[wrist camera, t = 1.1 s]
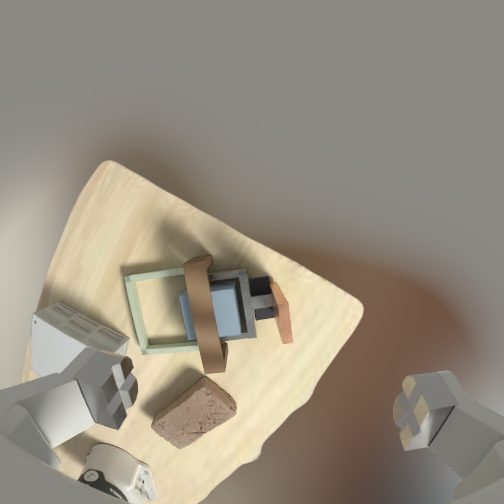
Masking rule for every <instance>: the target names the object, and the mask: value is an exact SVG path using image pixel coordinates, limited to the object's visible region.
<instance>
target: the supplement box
mask: <svg viewBox="0 0 504 504" xmlns="http://www.w3.org/2000/svg"><path fill="white" fill-rule="evenodd" d="M129 341H130V338H129V337H127V336H125V335H123V334H121V333H119V332H116V331H114V330H112V329H110V328H108V327H106V326H104V325H102V324H100V323H98V322H96V321H94V320H92V319H90V318H88V317H87V316H85V315H83V314H81V313H79V312H77V311H75V310H74V309H72V308H70V307H68V306H66V305H65V304H63V303H61V302H57V303H55V304H53V305H50V306H48V307H46V308H44V309H42V310H39V311H37V312H35V313H33V317H32V330H31V371H33V372H34V373H36V374H37V375H38V376H40V377H44V376H47V375H50V374H53V373H56V372H57V373H59V374H60V373H61V372H62V371H63V370H64V369H65V368H66V367H67V366H68V365H69V364H70V363H71V362H72V361H73V360H74V359H75V357H76V356H77V355H78V354H79V353H80V352H81V351H82V350H83V349H84V348H85V347H93V348H97V349H100V350H105V351H108V352H112V353H116V354H119V355H123V356H126V353H127V349H128V345H129Z"/></svg>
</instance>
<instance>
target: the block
mask: <svg viewBox="0 0 504 504" xmlns="http://www.w3.org/2000/svg"><path fill="white" fill-rule="evenodd" d="M210 291H211V296H212V302H213V308H214V313H215V319H216V324H217V329H218V334H219V337H224V336H232V335H240V334H241V317H240V311H239V304H238V298H237V292H236V285H235V281H233V282H226V283H219V284H211V285H210ZM179 299H180V304H181V309H182V314H183V318H184V323H185V328H186V333H187V337H188V340H196V339H197V337H196V332H195V328H194V323H193V318H192V313H191V308H190V303H189V298H188V292H187V288H186V289H185V290H184V291H183V292H182V293H181V294H180V295H179Z"/></svg>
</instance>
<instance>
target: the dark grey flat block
mask: <svg viewBox="0 0 504 504" xmlns="http://www.w3.org/2000/svg"><path fill="white" fill-rule="evenodd" d="M250 282H251V288H252V295H255V294H262V293H268V292H270V286H269V276H268V277H261V278H254V279H250ZM255 315H256V320H262V319H268V318H274V314H273V308H272V306H271V307H265V308H258V309H255Z"/></svg>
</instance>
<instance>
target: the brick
mask: <svg viewBox="0 0 504 504" xmlns="http://www.w3.org/2000/svg"><path fill="white" fill-rule="evenodd" d="M236 410H237V406H236V402H235V400H234V399H233V398H232V397H231V396H229V395H228V394H227V393H226V392H225V391H223V390H222V389H221V388H220V387H219V386H218V385H217V384H214V383H213V382H212V381H211V380H209V379H208V378H206V377H204V378H202V379H200V380H199V381H198V382H196V383H195V384H194V386H193V387H190V388H189V389H188V390H187V391H186V392H184V393H183V394H182V395H180V397H179V398H177V399H176V400H175V401H174V402H172V403H171V404H170V405H169V406H168V407H166V408H165V409H163V410H162V411H160V412H159V413H158V414H157V415H156V416H155V417H154V419H153V422H152V425H151V427H152V429H153V430H154V431H156V433H157V434H159V435H160V436H161V437H164V438H165V439H166V440H167V441H169V442H170V443H171V444H172V445H174V446H176V447H177V448H179V449H182V448H184V447H186V446H188V445H190V444H192V443H193V442H195V441H196V440H197V439H198V438H200V437H202V435H203V434H206V433H207V432H208V431H211V430H212V429H214V428H215V427H217V426H219V425H221V424H223V423H224V422H226V421H227V420H229V419H230V418H232V417H234V416H235V415H236Z"/></svg>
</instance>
